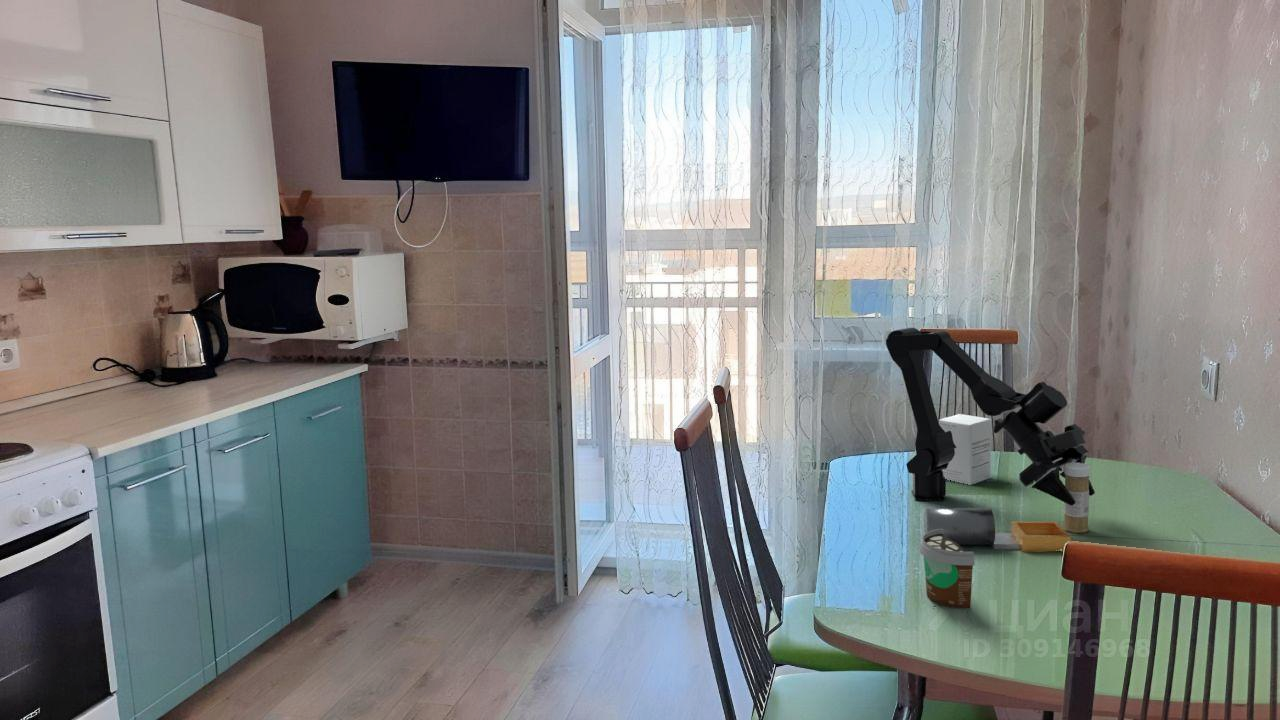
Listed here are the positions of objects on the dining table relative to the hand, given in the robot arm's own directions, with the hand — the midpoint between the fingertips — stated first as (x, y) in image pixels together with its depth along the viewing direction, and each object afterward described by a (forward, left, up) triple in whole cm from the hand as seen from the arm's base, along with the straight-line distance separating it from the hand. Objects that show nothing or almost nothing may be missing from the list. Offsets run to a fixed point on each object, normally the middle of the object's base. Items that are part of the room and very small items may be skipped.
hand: (1083, 499), depth 172 cm
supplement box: (-15, +38, -7) cm, 41 cm away
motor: (-18, -7, -7) cm, 20 cm away
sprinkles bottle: (-1, +1, -7) cm, 7 cm away
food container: (-33, -33, -7) cm, 47 cm away
